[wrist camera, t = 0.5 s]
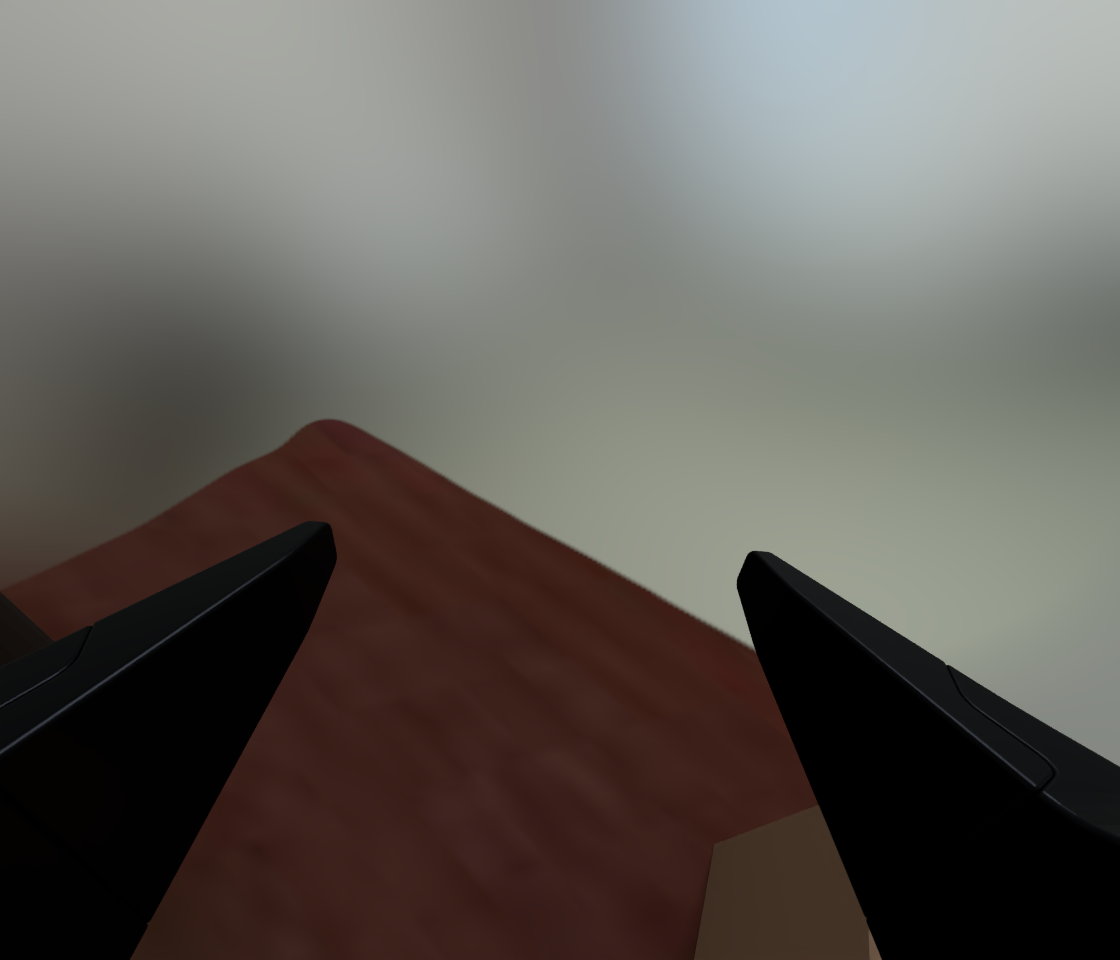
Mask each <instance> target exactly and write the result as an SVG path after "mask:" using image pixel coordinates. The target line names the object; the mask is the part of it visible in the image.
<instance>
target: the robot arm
mask: <svg viewBox="0 0 1120 960" xmlns="http://www.w3.org/2000/svg"><path fill="white" fill-rule="evenodd" d="M336 560H337V552H336V547H335V542H334V538H333V533H332V528H331V526H330V524H328V523H327V522H316V521H307V522H304V523H302V524H300V525H298V526H296V527H294V528H291V529H289V530H287V531H285V532H283V533H281V534H279V535H277V536H275V537H273V538H271V539H268V540H266V541H264V542H262V543H260V544H258V545H256V546H254V547H252V548H250V549H248V550H245V551H243V552H241V553H239V554H237V555H235V556H233V557H231V558H229V559H227V560H225V561H222V562H220V563H218V564H216V565H214V566H212V567H210V568H208V569H206V570H204V571H202V572H199V573H197V574H195V575H193V576H191V577H189V578H187V579H185V580H183V581H181V582H179V583H176V584H174V585H172V586H170V587H168V588H166V589H164V590H162V591H160V592H158V593H156V594H153V595H151V596H149V597H147V598H145V599H143V600H141V601H139V602H137V603H135V604H133V605H130V606H128V607H126V608H124V609H122V610H120V611H118V612H116V613H114V614H112V615H110V616H108V617H105V618H103V619H101V620H99V621H97V622H95V623H94V625H93V627H92V626H86V627H84V628H82V629H80V630H78V631H76V632H74V633H72V634H70V635H68V636H66V637H64V638H62V639H59V640H57V641H55V642H53V643H51V644H49V645H47V646H44V647H42V648H40V649H38V650H36V651H34V652H32V653H29V654H27V655H25V656H23V657H21V658H19V659H16V660H14V661H12V662H10V663H8V664H6V665H3V666H1V667H0V960H130V958H131V956H132V955H133V953H134V951H135V949H136V947H137V945H138V944H139V942H140V940H141V938H142V936H143V934H144V933H145V931H146V929H147V927H148V924H147V923H148V922H149V921H150V920H151V919H152V917H153V915H154V913H155V912H156V910H157V908H158V906H159V904H160V902H161V901H162V899H163V897H164V895H165V893H166V891H167V890H168V888H169V886H170V884H171V882H172V880H173V879H174V877H175V875H176V873H177V871H178V869H179V868H180V866H181V864H182V862H183V860H184V858H185V857H186V855H187V853H188V851H189V849H190V847H191V845H192V844H193V842H194V840H195V838H196V836H197V834H198V833H199V831H200V829H201V827H202V825H203V823H204V822H205V820H206V818H207V816H208V814H209V812H210V811H211V809H212V807H213V805H214V803H215V801H216V800H217V798H218V796H219V794H220V792H221V790H222V789H223V787H224V785H225V783H226V781H227V779H228V778H229V776H230V774H231V772H232V770H233V768H234V767H235V765H236V763H237V761H238V759H239V757H240V756H241V754H242V752H243V750H244V748H245V746H246V745H247V743H248V741H249V739H250V737H251V735H252V734H253V732H254V730H255V728H256V726H257V724H258V723H259V721H260V719H261V717H262V715H263V713H264V712H265V710H266V708H267V706H268V704H269V702H270V701H271V699H272V697H273V695H274V693H275V691H276V690H277V688H278V686H279V684H280V682H281V680H282V679H283V677H284V675H285V673H286V671H287V669H288V668H289V666H290V664H291V662H292V660H293V658H294V657H295V655H296V653H297V651H298V649H299V647H300V646H301V644H302V642H303V640H304V638H305V636H306V634H307V632H308V630H309V628H310V626H311V623H312V621H313V619H314V616H315V614H316V611H317V609H318V606H319V604H320V601H321V599H322V597H323V594H324V592H325V589H326V587H327V584H328V582H329V579H330V577H331V574H332V572H333V570H334V567H335V564H336ZM737 590H738V593H739V596H740V600H741V604H742V607H743V610H744V614H745V617H746V621H747V624H748V627H749V631H750V634H751V637H752V641H753V644H754V647H755V650H756V653H757V656H758V658H759V661H760V663H761V666H762V668H763V671H764V673H765V676H766V678H767V681H768V683H769V685H770V688H771V690H772V693H773V695H774V698H775V700H776V702H777V705H778V707H779V710H780V712H781V715H782V717H783V719H784V722H785V724H786V727H787V729H788V732H789V734H790V737H791V739H792V741H793V744H794V746H795V749H796V751H797V754H798V756H799V758H800V761H801V763H802V766H803V768H804V771H805V773H806V775H807V778H808V780H809V783H810V785H811V788H812V790H813V793H814V795H815V797H816V800H817V802H818V805H819V807H820V810H821V812H822V814H823V817H824V819H825V822H826V824H827V827H828V829H829V832H830V834H831V836H832V839H833V841H834V844H835V846H836V849H837V851H838V853H839V856H840V858H841V861H842V863H843V866H844V868H845V870H846V873H847V875H848V878H849V880H850V883H851V885H852V888H853V890H854V892H855V895H856V897H857V900H858V902H859V905H860V907H861V909H862V912H863V914H864V916H865V917H866V918H867V919H866V922H867V925H868V927H869V930H870V932H871V935H872V937H873V940H874V942H875V944H876V947H877V949H878V952H879V954H880V957H881V959H882V960H1120V767H1119V766H1118V765H1116V764H1114V763H1112V762H1111V761H1109V760H1107V759H1105V758H1104V757H1102V756H1100V755H1098V754H1097V753H1095V752H1093V751H1092V750H1090V749H1088V748H1086V747H1085V746H1083V745H1081V744H1079V743H1077V742H1076V741H1074V740H1072V739H1071V738H1069V737H1067V736H1066V735H1064V734H1062V733H1060V732H1059V731H1057V730H1055V729H1053V728H1052V727H1050V726H1048V725H1047V724H1045V723H1043V722H1041V721H1040V720H1038V719H1036V718H1035V717H1033V716H1031V715H1030V714H1028V713H1026V712H1024V711H1023V710H1021V709H1019V708H1018V707H1016V706H1014V705H1012V704H1011V703H1009V702H1008V701H1006V700H1004V699H1003V698H1001V697H1000V696H997V695H996V694H995V693H993V692H991V691H990V690H988V689H987V688H985V687H983V686H982V685H980V684H978V683H976V682H975V681H974V680H972V679H970V678H969V677H967V676H966V675H964V674H962V673H961V672H959V671H958V670H956V669H954V668H953V667H951V666H949V665H946V664H945V663H944V662H943V661H941V660H940V659H939V658H937V657H935V656H934V655H932V654H930V653H929V652H927V651H926V650H924V649H923V648H921V647H920V646H918V645H916V644H915V643H913V642H912V641H910V640H908V639H907V638H905V637H903V636H902V635H900V634H899V633H897V632H896V631H894V630H893V629H891V628H889V627H888V626H886V625H884V624H883V623H881V622H880V621H878V620H877V619H875V618H874V617H872V616H870V615H869V614H867V613H866V612H864V611H862V610H861V609H859V608H858V607H856V606H855V605H853V604H851V603H850V602H848V601H847V600H845V599H843V598H842V597H840V596H839V595H837V594H835V593H834V592H832V591H831V590H829V589H827V588H826V587H824V586H823V585H821V584H820V583H818V582H816V581H815V580H813V579H812V578H810V577H809V576H807V575H805V574H803V573H802V572H801V571H799V570H797V569H796V568H794V567H793V566H791V565H789V564H788V563H786V562H785V561H783V560H782V559H780V558H778V557H777V556H775V555H774V554H772V553H769V552H762V551H752V552H750V553H749V554H748V555H747V557H746V559H745V562H744V564H743V566H742V568H741V571H740V573H739V576H738V578H737Z"/></svg>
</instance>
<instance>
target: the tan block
mask: <svg viewBox="0 0 1120 960" xmlns="http://www.w3.org/2000/svg"><path fill="white" fill-rule="evenodd" d="M866 919H867V918H866V917H865V916H864V914H863V912H862V909H861V907H860V905H859V902H858V900H857V897H856V895H855V892H854V890H853V888H852V885H851V883H850V880H849V878H848V875H847V873H846V870H845V868H844V866H843V863H842V861H841V858H840V856H839V853H838V851H837V849H836V846H835V844H834V841H833V839H832V836H831V834H830V832H829V829H828V827H827V824H826V822H825V819H824V817H823V814H822V812H821V810H820V807H819V805H817V806H814V807H812V808H809V809H807V810H804V811H801V812H799V813H796V814H793V815H791V816H788V817H785V818H783V819H780V820H778V821H775V822H772V823H770V824H767V825H764V826H762V827H759V828H756V829H754V830H751V831H749V832H746V833H743V834H741V835H738V836H735V837H733V838H730V839H727V840H725V841H722V842H719V843H717V844H714V850H713V855H712V861H711V867H710V872H709V878H708V884H707V889H706V895H705V901H704V906H703V912H702V918H701V923H700V929H699V935H698V940H697V946H696V952H695V958H694V960H882V959H881V957H880V954H879V952H878V949H877V947H876V944H875V942H874V940H873V937H872V935H871V932H870V930H869V927H868V925H867V922H866Z"/></svg>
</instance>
